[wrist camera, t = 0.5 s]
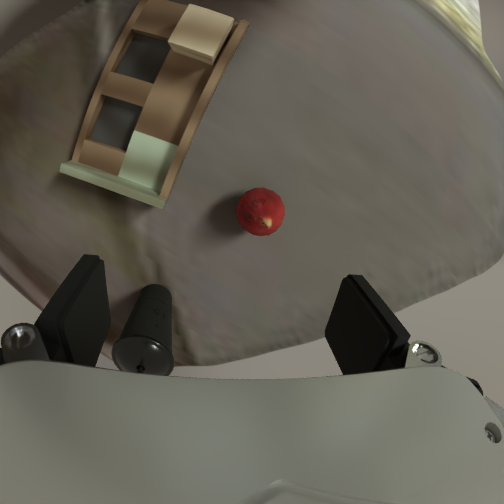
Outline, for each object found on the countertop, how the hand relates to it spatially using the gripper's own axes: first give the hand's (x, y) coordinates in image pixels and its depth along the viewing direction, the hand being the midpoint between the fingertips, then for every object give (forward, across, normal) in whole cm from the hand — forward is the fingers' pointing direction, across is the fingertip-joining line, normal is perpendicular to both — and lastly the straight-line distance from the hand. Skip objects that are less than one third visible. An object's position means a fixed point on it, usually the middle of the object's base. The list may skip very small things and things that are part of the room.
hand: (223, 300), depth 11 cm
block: (+26, +4, -16) cm, 31 cm away
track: (+29, +9, -9) cm, 31 cm away
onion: (+29, -6, +4) cm, 30 cm away
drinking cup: (+29, +7, +20) cm, 36 cm away
